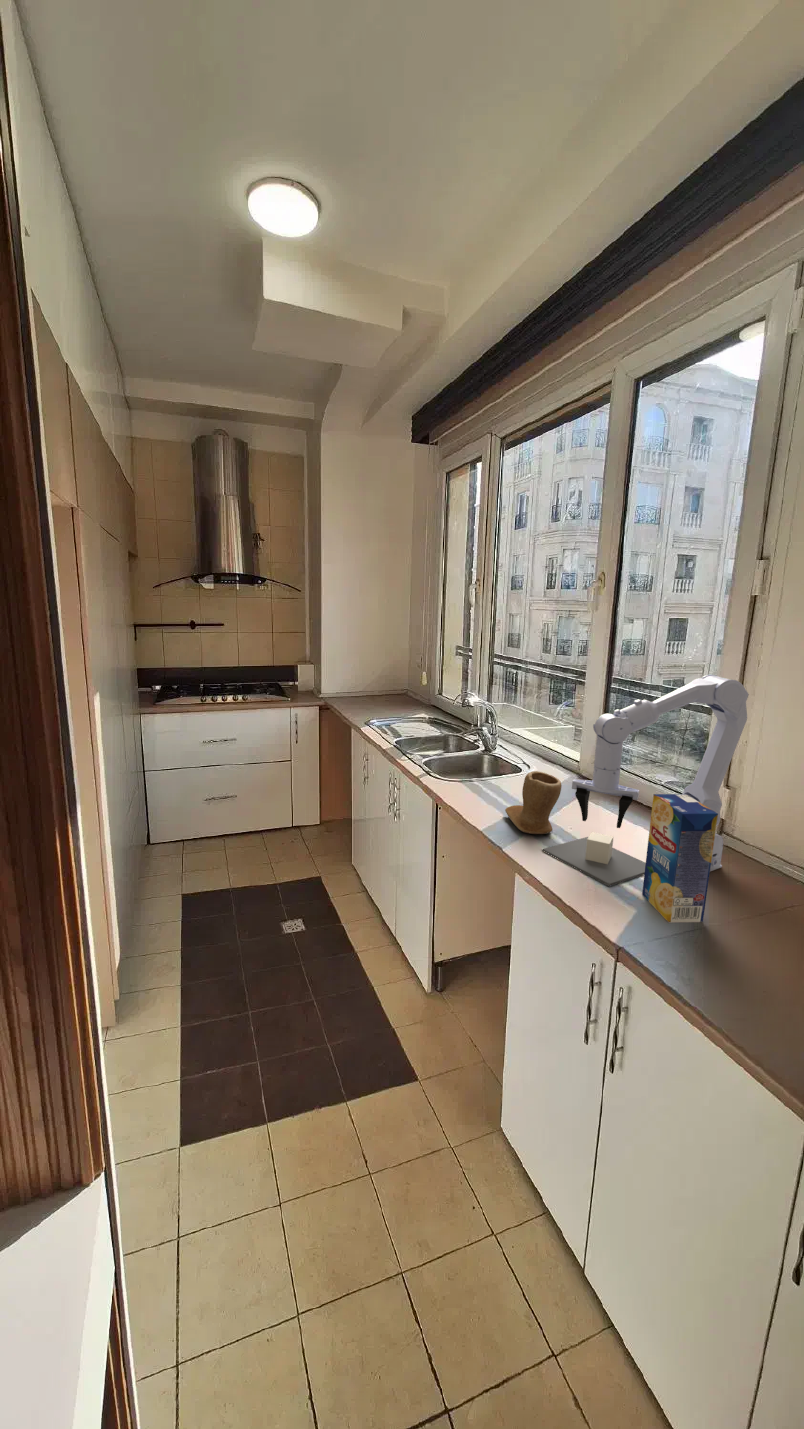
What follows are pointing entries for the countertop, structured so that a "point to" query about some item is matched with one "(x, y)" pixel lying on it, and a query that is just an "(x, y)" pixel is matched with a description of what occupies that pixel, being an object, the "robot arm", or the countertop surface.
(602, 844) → the cream cube
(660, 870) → the beverage box
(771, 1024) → the countertop surface
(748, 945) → the countertop surface
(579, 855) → the charcoal mat
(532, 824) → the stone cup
